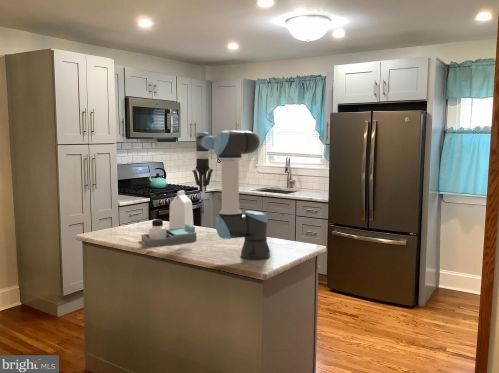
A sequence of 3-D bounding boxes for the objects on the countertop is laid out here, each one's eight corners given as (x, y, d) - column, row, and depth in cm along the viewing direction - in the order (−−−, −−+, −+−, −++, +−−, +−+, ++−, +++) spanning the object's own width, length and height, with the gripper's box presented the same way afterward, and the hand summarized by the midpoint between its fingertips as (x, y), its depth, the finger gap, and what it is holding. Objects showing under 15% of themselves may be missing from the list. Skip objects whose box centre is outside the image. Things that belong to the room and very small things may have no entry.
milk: (185, 233, 285) (184, 192, 281) (169, 232, 289) (168, 191, 285) (193, 229, 296) (193, 190, 293) (177, 228, 300) (177, 189, 296)
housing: (196, 240, 267) (196, 232, 267) (150, 246, 253) (150, 238, 253) (185, 235, 281) (185, 227, 280) (141, 240, 267) (141, 232, 266)
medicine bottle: (166, 239, 265) (166, 219, 263) (158, 242, 259) (158, 221, 257) (157, 237, 268) (156, 218, 267) (148, 240, 262) (148, 220, 261)
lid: (196, 233, 269) (196, 227, 268) (175, 236, 262) (175, 229, 262) (188, 229, 279) (188, 223, 279) (168, 231, 273) (168, 225, 272)
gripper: (209, 157, 279) (209, 195, 282) (190, 158, 272) (190, 196, 275) (215, 158, 272) (215, 197, 275) (195, 158, 266) (195, 198, 269)
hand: (202, 196), depth 275 cm, fingers closed
